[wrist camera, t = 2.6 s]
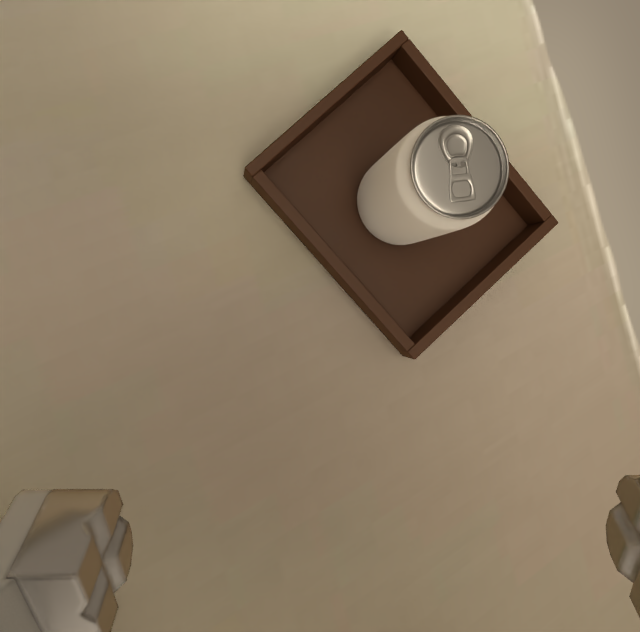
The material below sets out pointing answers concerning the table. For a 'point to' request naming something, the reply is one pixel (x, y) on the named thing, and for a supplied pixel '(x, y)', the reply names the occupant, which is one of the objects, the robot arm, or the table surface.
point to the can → (434, 181)
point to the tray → (342, 212)
